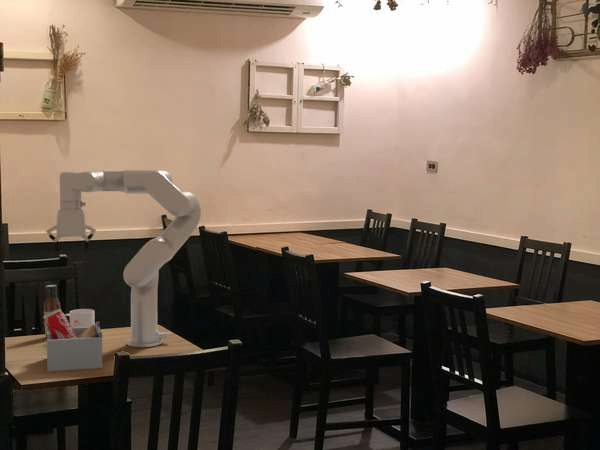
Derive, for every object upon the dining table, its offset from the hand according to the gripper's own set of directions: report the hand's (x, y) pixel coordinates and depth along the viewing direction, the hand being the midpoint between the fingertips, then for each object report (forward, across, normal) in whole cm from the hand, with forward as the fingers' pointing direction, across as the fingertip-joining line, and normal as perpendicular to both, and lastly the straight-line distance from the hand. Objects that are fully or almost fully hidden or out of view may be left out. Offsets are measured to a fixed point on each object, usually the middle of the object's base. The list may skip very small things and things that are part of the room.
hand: (71, 252), depth 291 cm
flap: (+26, -1, +32) cm, 41 cm away
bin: (+33, 0, +32) cm, 46 cm away
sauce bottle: (+34, +7, -10) cm, 36 cm away
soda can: (+27, +2, +32) cm, 42 cm away
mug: (+34, -2, -2) cm, 34 cm away
